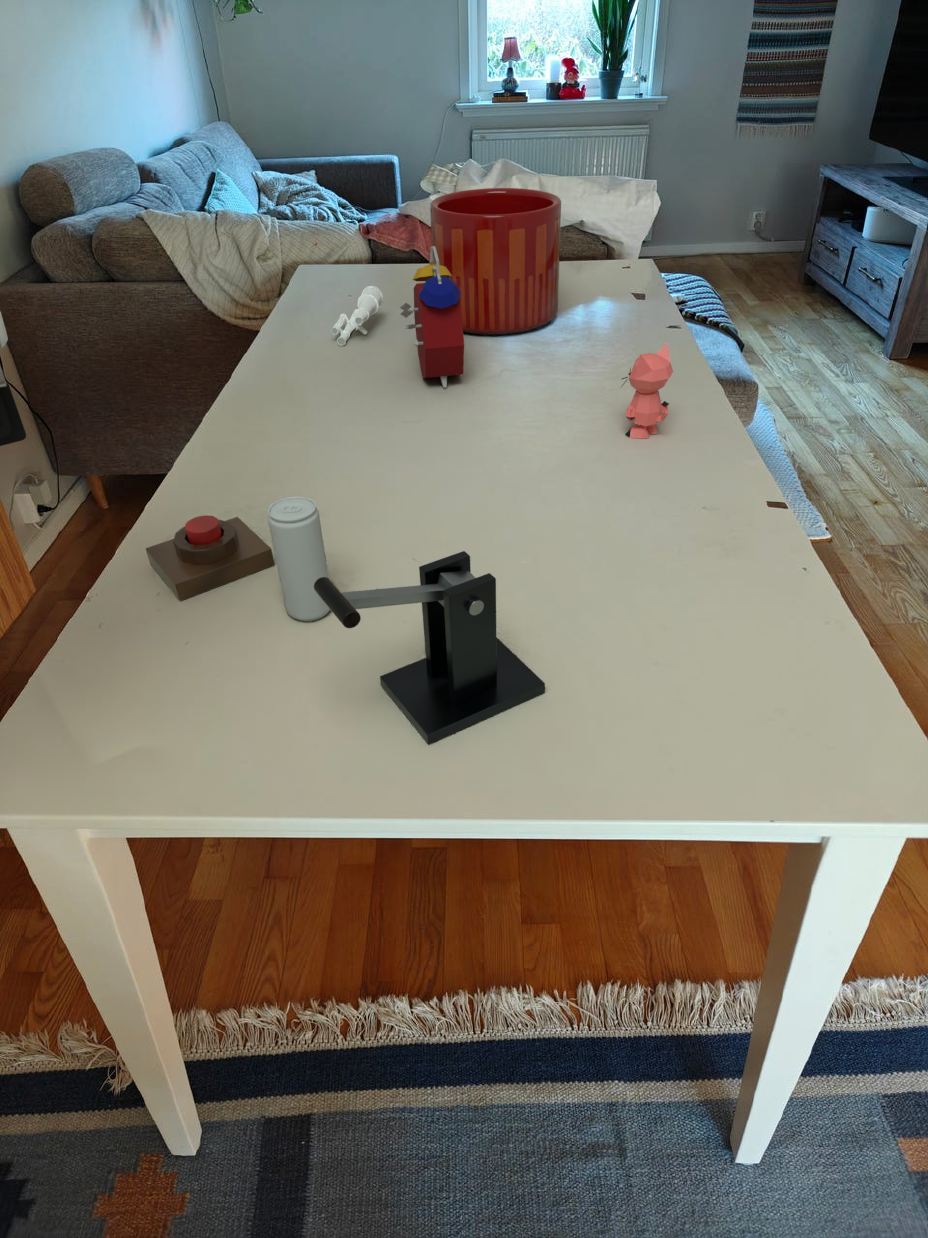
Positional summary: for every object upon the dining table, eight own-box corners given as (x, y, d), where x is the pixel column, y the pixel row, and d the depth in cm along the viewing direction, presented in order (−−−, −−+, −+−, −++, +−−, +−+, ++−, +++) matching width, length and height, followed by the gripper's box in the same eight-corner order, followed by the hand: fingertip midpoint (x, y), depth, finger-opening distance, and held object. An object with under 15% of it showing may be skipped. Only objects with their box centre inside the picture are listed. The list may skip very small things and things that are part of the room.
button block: (179, 601, 90) (170, 569, 87) (150, 564, 95) (141, 534, 93) (274, 565, 95) (268, 534, 92) (241, 532, 100) (234, 502, 98)
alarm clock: (467, 392, 132) (462, 256, 120) (411, 397, 131) (402, 261, 119) (453, 358, 144) (448, 232, 132) (402, 363, 143) (392, 236, 131)
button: (195, 549, 91) (192, 535, 90) (183, 536, 93) (179, 522, 92) (227, 538, 92) (224, 524, 91) (214, 525, 95) (211, 511, 94)
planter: (421, 335, 154) (414, 214, 142) (451, 297, 172) (446, 186, 159) (547, 341, 149) (551, 216, 137) (564, 301, 167) (569, 187, 155)
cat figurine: (640, 418, 123) (648, 335, 115) (680, 431, 118) (691, 346, 111) (609, 433, 119) (615, 348, 111) (650, 448, 115) (659, 361, 107)
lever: (340, 635, 63) (345, 607, 62) (311, 598, 67) (315, 571, 65) (486, 617, 70) (492, 592, 69) (452, 585, 74) (457, 561, 73)
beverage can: (329, 623, 86) (313, 520, 78) (282, 624, 86) (261, 521, 79) (336, 595, 89) (321, 495, 82) (291, 596, 90) (271, 495, 82)
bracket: (428, 745, 72) (418, 624, 64) (380, 685, 78) (366, 569, 70) (545, 693, 76) (549, 575, 69) (491, 640, 83) (489, 527, 75)
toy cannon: (350, 355, 152) (327, 335, 150) (364, 330, 163) (342, 310, 161) (378, 323, 148) (354, 301, 146) (390, 299, 159) (368, 278, 157)
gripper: (-195, 140, 52) (-77, 421, 63) (-170, 168, 42) (-34, 496, 53) (-62, 128, 56) (29, 397, 67) (-10, 152, 46) (87, 463, 57)
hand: (1, 440), depth 60 cm, fingers closed
